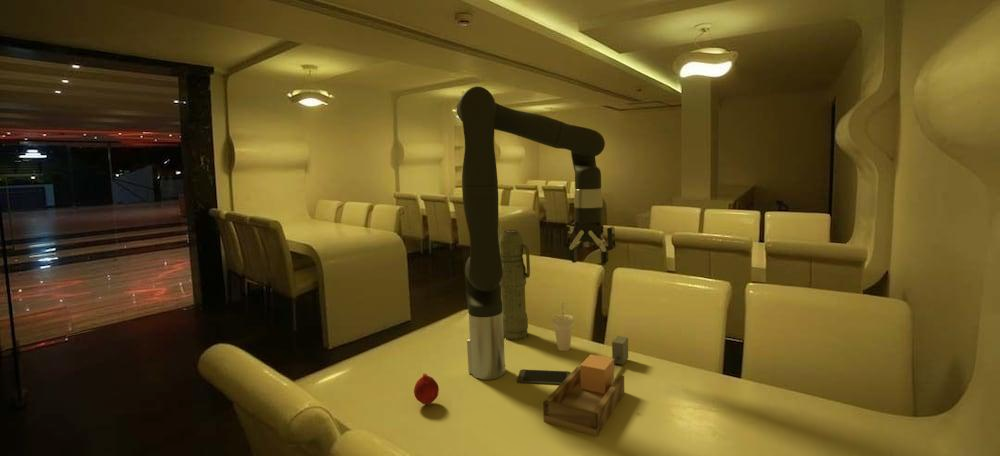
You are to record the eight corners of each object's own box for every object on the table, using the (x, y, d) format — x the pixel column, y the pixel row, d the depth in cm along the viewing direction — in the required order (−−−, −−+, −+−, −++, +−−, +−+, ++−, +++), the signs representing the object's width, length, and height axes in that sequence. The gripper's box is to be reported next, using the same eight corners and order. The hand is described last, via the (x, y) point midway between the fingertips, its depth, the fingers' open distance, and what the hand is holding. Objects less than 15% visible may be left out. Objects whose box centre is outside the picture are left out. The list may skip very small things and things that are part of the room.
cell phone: (520, 371, 126) (520, 369, 126) (571, 373, 123) (571, 371, 123) (516, 384, 119) (516, 381, 119) (570, 387, 116) (570, 384, 116)
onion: (443, 400, 112) (441, 369, 110) (432, 412, 106) (430, 380, 105) (422, 397, 113) (420, 366, 112) (410, 409, 108) (408, 377, 107)
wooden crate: (596, 436, 94) (596, 416, 94) (543, 421, 100) (543, 402, 100) (624, 393, 111) (624, 375, 110) (577, 383, 117) (577, 366, 117)
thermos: (500, 329, 158) (495, 229, 153) (534, 331, 155) (530, 228, 150) (494, 339, 149) (489, 233, 144) (529, 341, 146) (526, 233, 142)
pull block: (605, 398, 108) (604, 370, 107) (580, 393, 111) (580, 365, 110) (633, 358, 129) (633, 334, 128) (612, 355, 132) (612, 331, 131)
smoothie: (573, 344, 142) (572, 300, 140) (575, 352, 136) (574, 307, 134) (553, 344, 143) (551, 300, 141) (553, 352, 137) (552, 307, 135)
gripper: (558, 206, 125) (560, 264, 128) (609, 207, 118) (609, 268, 120) (569, 203, 132) (570, 259, 134) (618, 204, 124) (618, 262, 127)
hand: (589, 263), depth 127 cm, fingers open, 8 cm apart
